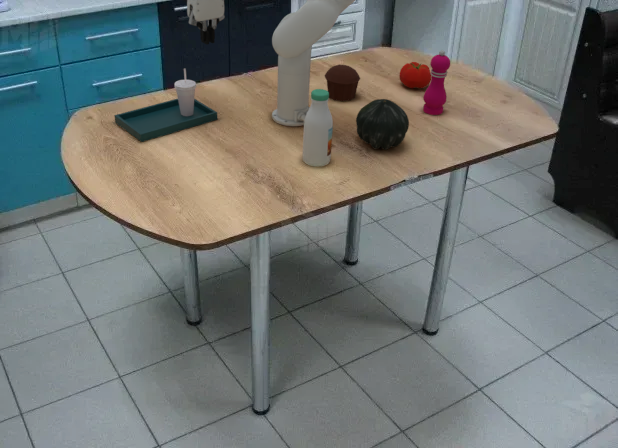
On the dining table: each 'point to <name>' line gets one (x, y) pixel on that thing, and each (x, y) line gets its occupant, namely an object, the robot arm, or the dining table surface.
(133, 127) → the tray
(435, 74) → the pepper mill
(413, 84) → the tomato
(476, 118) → the dining table surface
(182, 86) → the smoothie
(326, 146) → the milk bottle
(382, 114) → the squash
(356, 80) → the muffin
